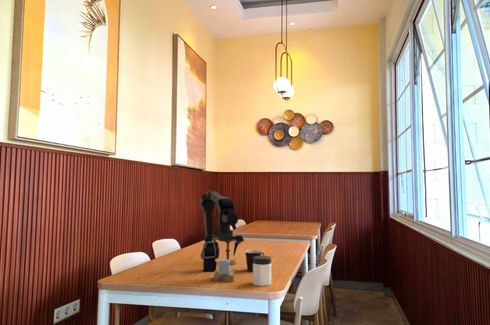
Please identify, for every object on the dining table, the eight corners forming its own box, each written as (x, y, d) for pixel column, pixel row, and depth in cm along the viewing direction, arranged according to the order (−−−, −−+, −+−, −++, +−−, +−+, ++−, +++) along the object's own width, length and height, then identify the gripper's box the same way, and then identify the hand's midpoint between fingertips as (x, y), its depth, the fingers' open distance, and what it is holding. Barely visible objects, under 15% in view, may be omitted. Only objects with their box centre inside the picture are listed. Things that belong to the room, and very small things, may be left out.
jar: (275, 283, 163) (275, 257, 164) (264, 287, 157) (264, 259, 158) (260, 280, 170) (260, 254, 170) (249, 283, 164) (249, 257, 164)
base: (214, 281, 167) (214, 275, 167) (215, 277, 176) (215, 270, 176) (233, 281, 167) (233, 275, 167) (233, 277, 176) (233, 270, 176)
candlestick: (239, 264, 205) (239, 203, 207) (221, 265, 202) (221, 203, 204) (234, 261, 215) (234, 202, 218) (216, 262, 212) (216, 203, 214)
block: (218, 274, 169) (218, 261, 170) (219, 271, 174) (219, 259, 175) (229, 274, 169) (229, 261, 170) (229, 271, 174) (229, 259, 175)
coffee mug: (247, 272, 185) (247, 253, 185) (243, 269, 193) (243, 250, 194) (269, 271, 188) (268, 252, 189) (263, 268, 196) (263, 249, 197)
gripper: (203, 225, 165) (203, 259, 164) (243, 225, 165) (243, 259, 164) (206, 223, 176) (205, 255, 175) (243, 223, 176) (243, 254, 175)
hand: (224, 256), depth 172 cm, fingers open, 9 cm apart
